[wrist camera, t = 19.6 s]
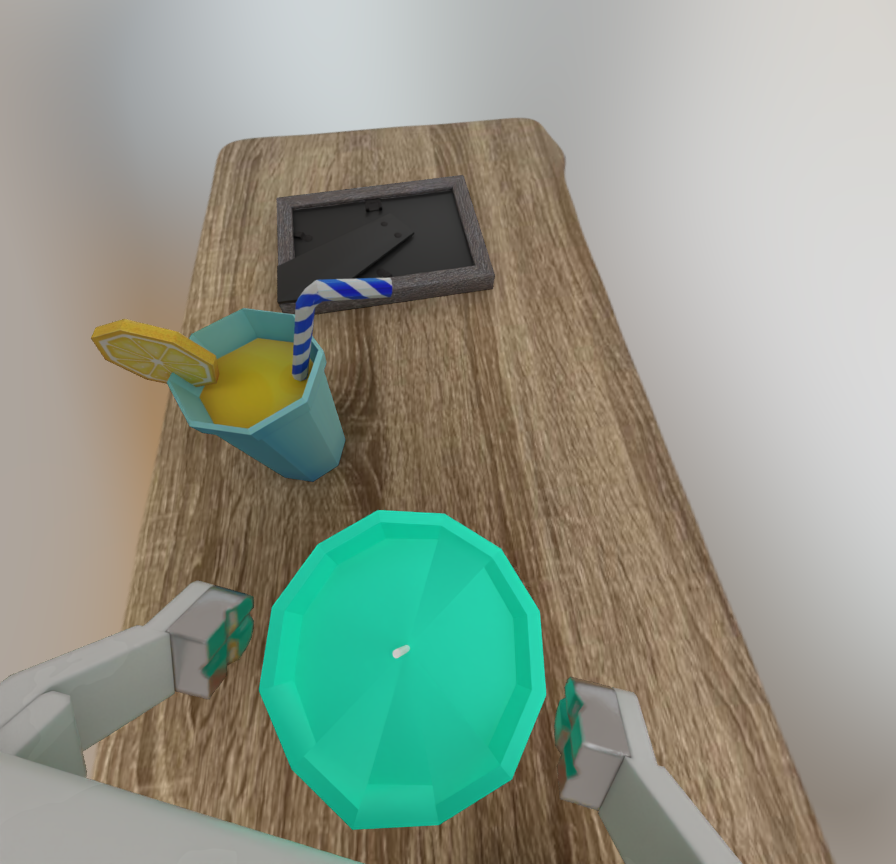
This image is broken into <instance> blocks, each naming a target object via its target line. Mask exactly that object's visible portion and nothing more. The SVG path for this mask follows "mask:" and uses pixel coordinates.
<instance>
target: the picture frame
mask: <svg viewBox="0 0 896 864" xmlns="http://www.w3.org/2000/svg"><path fill="white" fill-rule="evenodd" d="M277 232H278V266H277V302H278V304H279V306H280V308H281V310H282V312H283V313H286V314H295V308H296V302H297V300H298V298H299V296H300V295H301V294H302V292H303V291H304V290H305V288H307V287H308V286H309V285H310V284H312V283H313V282H314V281H316V280H326V279H360V278H391V280H392V295H391V297H384V298H368V299H353V300H337V301H322V302H321V303H320V304H318V305H317V306H316V307H315V313H314V314H321V313H328V312H335V311H342V310H349V309H356V308H362V307H369V306H376V305H383V304H390V303H397V302H404V301H411V300H418V299H425V298H432V297H439V296H445V295H452V294H459V293H466V292H473V291H480V290H487V289H493V284H494V277H495V274H494V271H493V268H492V265H491V262H490V259H489V255H488V252H487V249H486V246H485V243H484V239H483V236H482V233H481V230H480V227H479V224H478V220H477V217H476V214H475V211H474V208H473V205H472V201H471V198H470V195H469V192H468V189H467V185H466V182H465V179H464V176H463V175H460V176H452V177H443V178H435V179H427V180H419V181H411V182H402V183H394V184H386V185H378V186H370V187H361V188H353V189H345V190H337V191H329V192H320V193H312V194H304V195H296V196H288V197H279V198H277Z"/></svg>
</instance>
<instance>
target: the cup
mask: <svg viewBox="0 0 896 864" xmlns="http://www.w3.org/2000/svg"><path fill="white" fill-rule="evenodd" d="M391 295H392V280H391V278H360V279H326V280H316V281H314V282H313V283H312V284H310V285H309V286H308V287H307V288H305V290H304V291H303V292H302V294H301V295H300V296H299V298H298V300H297V302H296V308H295V314H286V313H278V312H270V311H262V310H254V309H246V308H243V309H241V310H239V311H237V312H235V313H233V314H231V315H229V316H227V317H225V318H223V319H221V320H219V321H217V322H215V323H213V324H211V325H209V326H207V327H205V328H203V329H201V330H199V331H197V332H195V333H193V334H191V336H190V338H187V337H185V336H184V335H182V334H180V333H179V332H176V331H172V330H168V329H164V328H159V327H156V326H152V325H148V324H144V323H139V322H135V321H131V320H127V319H122V320H119V321H116V322H112V323H109V324H106V325H102V326H99V327H96V328H95V330H94V333H93V335H92V337H91V339H92V341H93V342H94V344H95V345H96V346H97V348H98V349H99V351H100V352H101V354H102V355H103V357H104V358H105V360H107V361H109V362H111V363H113V364H116V365H117V366H120V367H122V368H124V369H126V370H128V371H130V372H132V373H134V374H136V375H138V376H140V377H142V378H144V379H147V380H151V381H156V382H162V383H166V384H168V386H169V388H170V390H171V392H172V394H173V396H174V397H175V399H176V401H177V403H178V405H179V407H180V409H181V411H182V413H183V415H184V416H185V418H186V420H187V422H188V424H189V426H190V427H192V428H194V429H196V430H198V431H200V432H202V433H207V434H214V435H217V436H219V437H220V438H222V439H223V440H225V441H227V442H228V443H230V444H232V445H233V446H235V447H236V448H238V449H240V450H241V451H243V452H244V453H246V454H248V455H249V456H251V457H253V458H254V459H256V460H257V461H259V462H261V463H262V464H264V465H265V466H267V467H269V468H270V469H272V470H274V471H275V472H277V473H278V474H280V475H282V476H283V477H285V478H291V479H298V480H305V481H311V482H313V481H315V480H316V479H318V478H320V477H321V476H323V475H324V474H326V473H327V472H329V471H331V470H332V469H334V468H335V467H337V466H338V465H339V461H340V458H341V454H342V450H343V447H344V443H345V437H344V434H343V430H342V427H341V424H340V421H339V418H338V414H337V411H336V408H335V405H334V402H333V398H332V395H331V392H330V389H329V386H328V382H327V379H326V376H325V373H324V369H325V366H326V359H325V354H324V351H323V350H322V348H321V347H320V346H319V344H318V343H317V342H316V340H315V339H314V338H313V336H312V332H313V322H314V313H315V307H316V306H317V305H318V304H320V303H321V302H322V301H337V300H353V299H368V298H384V297H391Z"/></svg>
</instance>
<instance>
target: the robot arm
mask: <svg viewBox="0 0 896 864" xmlns="http://www.w3.org/2000/svg"><path fill="white" fill-rule="evenodd" d="M253 608H254V598H253V596H251V595H248V594H245V593H241V592H238V591H234V590H231V589H227V588H224V587H220V586H217V585H212V584H209V583H205V582H202V581H195V582H193V583H191V584H189V585H188V586H187V587H186V588H185V589H184V590H183V591H182V592H181V593H179V594H178V595H177V596H176V597H175V598H174V599H173V600H172V601H171V602H170V603H168V604H167V605H166V606H165V607H164V608H163V609H162V610H161V611H160V612H158V613H157V614H156V615H155V616H154V617H153V618H152V619H151V620H150V621H149V622H147V623H146V624H145V625H144V626H140V625H136V626H134V627H131V628H129V629H126V630H124V631H121V632H119V633H116V634H114V635H111V636H108V637H106V638H104V639H101V640H98V641H96V642H93V643H91V644H88V645H86V646H83V647H81V648H78V649H76V650H73V651H71V652H68V653H66V654H63V655H60V656H58V657H55V658H53V659H50V660H48V661H45V662H43V663H40V664H38V665H35V666H33V667H30V668H28V669H25V670H22V671H20V672H18V673H15V674H12V675H10V676H9V677H7V678H6V679H5V680H3V681H2V682H1V683H0V864H364V863H361V862H357V861H354V860H351V859H348V858H344V857H341V856H338V855H335V854H331V853H328V852H325V851H322V850H318V849H315V848H312V847H309V846H305V845H302V844H299V843H296V842H292V841H289V840H286V839H283V838H279V837H276V836H273V835H270V834H266V833H263V832H260V831H257V830H253V829H250V828H247V827H244V826H241V825H237V824H234V823H231V822H228V821H224V820H221V819H218V818H215V817H211V816H208V815H205V814H202V813H198V812H195V811H192V810H189V809H185V808H182V807H179V806H176V805H172V804H169V803H166V802H163V801H159V800H156V799H153V798H150V797H147V796H143V795H140V794H137V793H134V792H130V791H127V790H124V789H121V788H117V787H114V786H111V785H108V784H104V783H101V782H98V781H95V780H91V779H88V778H86V776H87V770H86V765H85V761H84V756H83V751H84V750H86V749H88V748H89V747H91V746H92V745H94V744H96V743H97V742H99V741H100V740H102V739H104V738H105V737H107V736H108V735H110V734H111V733H113V732H115V731H116V730H118V729H119V728H121V727H122V726H124V725H126V724H127V723H129V722H130V721H132V720H134V719H135V718H137V717H138V716H140V715H141V714H143V713H145V712H146V711H148V710H149V709H151V708H153V707H154V706H156V705H157V704H159V703H160V702H162V701H164V700H165V699H167V698H168V697H170V696H172V695H173V694H174V693H175V691H176V692H180V693H184V694H188V695H193V696H197V697H201V698H205V699H210V697H211V696H212V695H213V693H214V692H215V691H216V689H217V688H218V687H219V685H220V684H221V683H222V681H223V680H224V679H225V677H226V676H227V665H229V664H231V663H233V662H235V661H237V660H239V658H240V657H241V656H242V654H243V653H244V651H245V650H246V648H247V646H248V644H249V642H250V640H251V638H252V633H253V629H254V620H253V618H252V617H251V616H250V614H249V613H250V611H251V610H252V609H253ZM564 688H565V698H564V699H562V700H560V701H559V704H558V707H557V710H556V716H555V723H554V736H555V746H556V748H557V749H558V751H559V752H560V754H561V756H560V759H559V762H558V764H557V773H558V784H559V795H560V799H562V800H565V801H568V802H572V803H575V804H578V805H581V806H584V807H587V808H591V809H594V810H597V811H599V813H598V814H599V816H600V818H601V820H602V821H603V823H604V825H605V827H606V829H607V831H608V833H609V835H610V836H611V838H612V840H613V842H614V844H615V846H616V848H617V850H618V852H619V853H620V855H621V857H622V859H623V861H624V863H625V864H742V863H741V862H740V860H739V859H738V858H737V857H736V855H735V854H734V853H733V852H732V850H731V849H730V848H729V847H728V845H727V844H726V843H725V842H724V840H723V839H722V838H721V837H720V836H719V834H718V833H717V832H716V831H715V829H714V828H713V827H712V826H711V824H710V823H709V822H708V821H707V819H706V818H705V817H704V816H703V814H702V813H701V812H700V811H699V809H698V808H697V807H696V806H695V804H694V803H693V802H692V801H691V800H690V798H689V797H688V796H687V795H686V793H685V792H684V791H683V790H682V788H681V787H680V786H679V785H678V783H677V782H676V781H675V780H674V778H673V777H672V776H671V775H670V773H669V772H668V771H667V770H666V769H665V767H662V766H659V765H657V761H656V758H655V755H654V751H653V748H652V745H651V741H650V738H649V735H648V731H647V728H646V725H645V721H644V718H643V715H642V711H641V708H640V705H639V701H638V698H637V696H636V695H635V693H634V692H630V691H626V690H622V689H618V688H614V687H612V688H611V687H610V686H606V685H602V684H598V683H594V682H590V681H586V680H582V679H578V678H573V677H570V678H569V679H568V680H567V682H566V685H565V687H564Z"/></svg>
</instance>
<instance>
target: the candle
mask: <svg viewBox="0 0 896 864" xmlns="http://www.w3.org/2000/svg"><path fill="white" fill-rule="evenodd" d="M259 692H260V695H261V697H262V699H263V702H264V704H265V707H266V709H267V711H268V714H269V716H270V719H271V721H272V723H273V726H274V728H275V731H276V733H277V735H278V738H279V740H280V743H281V745H282V747H283V750H284V752H285V755H286V757H287V759H288V762H289V764H290V767H291V769H292V770H293V771H294V772H295V773H296V774H297V775H298V776H299V777H300V778H301V779H302V780H303V781H304V782H305V783H306V784H307V785H308V786H309V787H310V788H311V789H312V790H313V791H314V792H315V793H316V794H317V795H318V796H319V797H320V798H321V799H322V800H323V801H324V802H325V803H326V804H327V805H328V806H329V807H330V808H331V809H332V810H333V811H334V812H335V813H336V814H337V815H338V816H339V817H340V818H341V819H342V820H343V821H344V822H345V823H346V824H347V825H348V826H349V827H350V828H351V829H352V830H356V829H375V828H394V827H413V826H431V825H440V824H442V823H443V822H445V821H446V820H448V819H450V818H451V817H453V816H454V815H456V814H458V813H459V812H461V811H462V810H464V809H466V808H467V807H469V806H470V805H472V804H474V803H475V802H477V801H478V800H480V799H481V798H483V797H485V796H486V795H488V794H489V793H491V792H493V791H494V790H496V789H497V788H499V787H501V786H502V785H504V784H505V783H507V782H509V781H510V780H512V778H513V775H514V773H515V771H516V768H517V766H518V763H519V761H520V758H521V756H522V753H523V751H524V748H525V746H526V744H527V741H528V739H529V736H530V734H531V731H532V729H533V726H534V724H535V721H536V719H537V716H538V714H539V712H540V709H541V707H542V704H543V702H544V699H545V697H546V684H545V671H544V658H543V645H542V632H541V619H540V611H539V609H538V607H537V606H536V604H535V603H534V601H533V599H532V598H531V596H530V595H529V593H528V591H527V590H526V588H525V586H524V585H523V583H522V582H521V580H520V578H519V577H518V575H517V574H516V572H515V570H514V569H513V567H512V565H511V564H510V562H509V561H508V559H507V557H506V556H505V554H504V553H503V551H502V549H501V548H499V547H497V546H496V545H494V544H493V543H491V542H489V541H488V540H486V539H484V538H483V537H481V536H480V535H478V534H476V533H475V532H473V531H472V530H470V529H468V528H467V527H465V526H464V525H462V524H460V523H459V522H457V521H455V520H454V519H452V518H451V517H449V516H447V515H446V514H441V513H423V512H405V511H387V510H377V511H375V512H374V513H372V514H370V515H368V516H367V517H365V518H363V519H361V520H360V521H358V522H356V523H354V524H353V525H351V526H349V527H347V528H346V529H344V530H342V531H340V532H338V533H337V534H335V535H333V536H331V537H330V538H328V539H326V540H324V541H323V542H321V543H319V544H318V545H317V546H316V547H315V549H314V550H313V551H312V553H311V554H310V556H309V557H308V558H307V560H306V561H305V562H304V564H303V565H302V567H301V568H300V569H299V571H298V572H297V573H296V575H295V576H294V577H293V579H292V580H291V582H290V583H289V584H288V586H287V587H286V588H285V590H284V591H283V593H282V594H281V595H280V597H279V598H278V599H277V601H276V602H275V603H274V605H273V606H272V610H271V616H270V622H269V629H268V635H267V641H266V648H265V654H264V661H263V667H262V673H261V680H260V686H259Z"/></svg>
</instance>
